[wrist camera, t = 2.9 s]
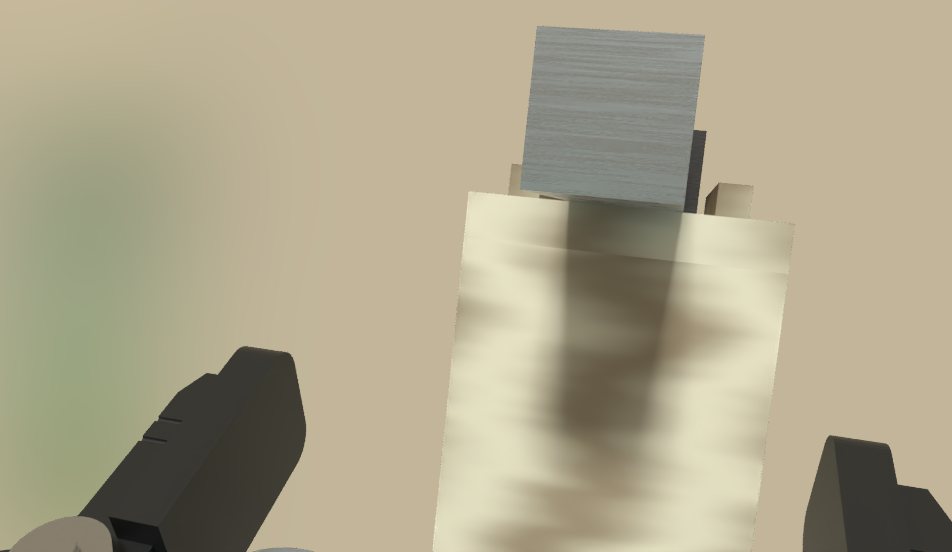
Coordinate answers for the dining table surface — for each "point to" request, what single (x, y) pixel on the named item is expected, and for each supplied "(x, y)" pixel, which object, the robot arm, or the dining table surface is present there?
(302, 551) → the beverage can
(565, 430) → the beige patterned box
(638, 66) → the gray block
